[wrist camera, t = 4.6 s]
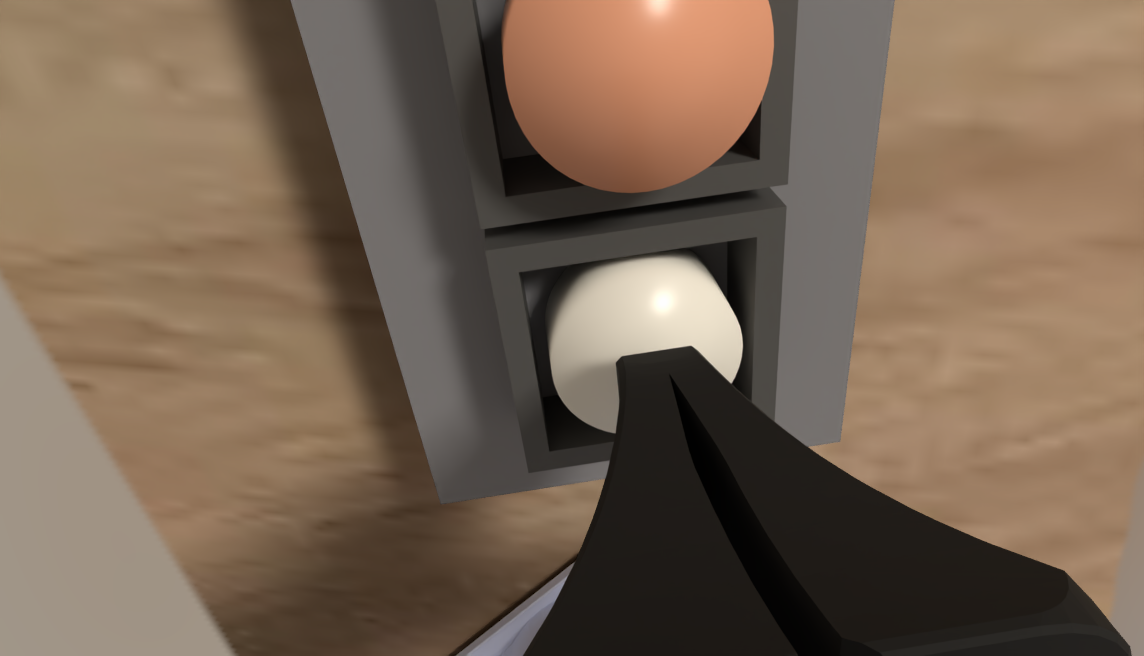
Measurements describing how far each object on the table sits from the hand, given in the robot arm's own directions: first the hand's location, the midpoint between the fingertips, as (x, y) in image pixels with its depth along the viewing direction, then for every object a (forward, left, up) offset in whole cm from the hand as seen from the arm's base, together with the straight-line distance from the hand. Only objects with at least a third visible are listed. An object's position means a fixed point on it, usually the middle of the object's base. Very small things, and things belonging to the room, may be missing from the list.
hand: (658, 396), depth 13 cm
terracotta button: (+4, +4, -2) cm, 6 cm away
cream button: (0, 0, -3) cm, 3 cm away
